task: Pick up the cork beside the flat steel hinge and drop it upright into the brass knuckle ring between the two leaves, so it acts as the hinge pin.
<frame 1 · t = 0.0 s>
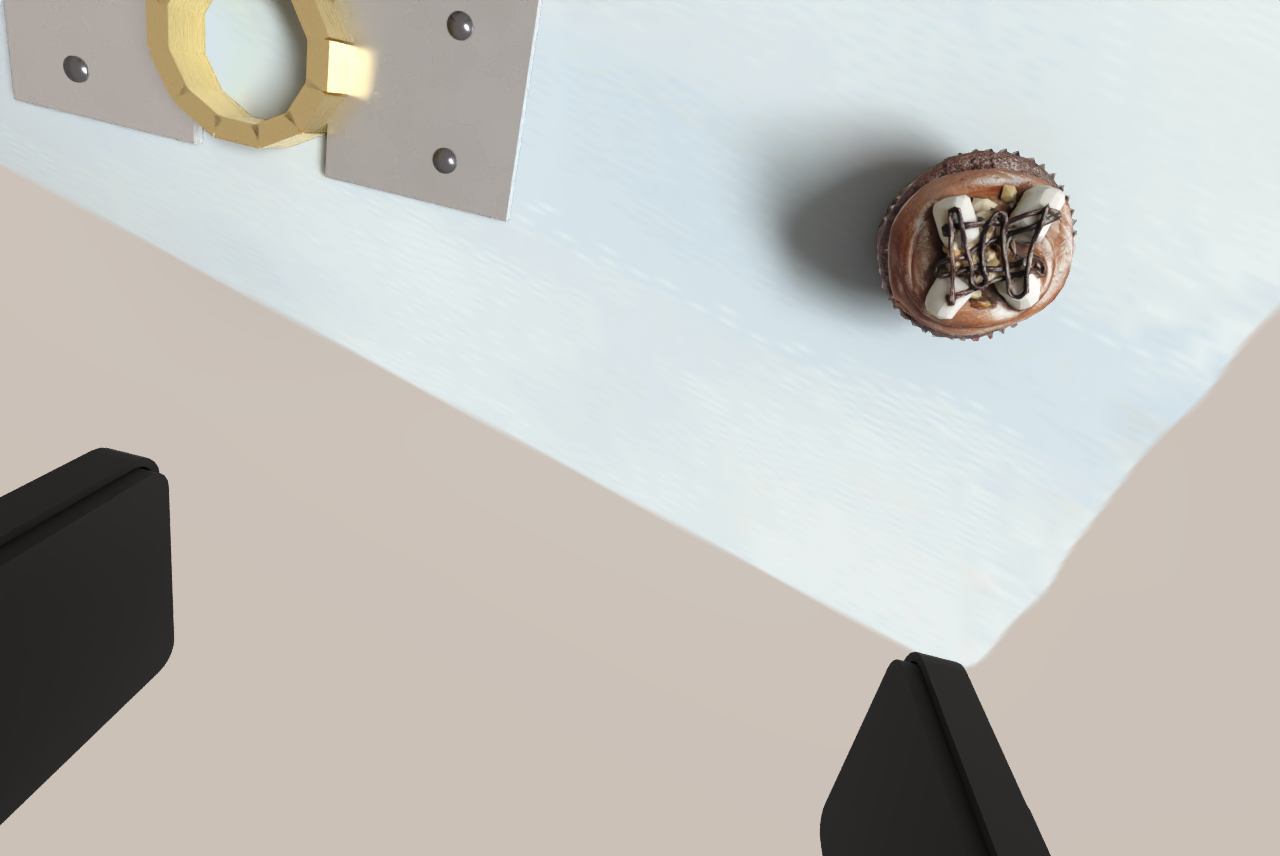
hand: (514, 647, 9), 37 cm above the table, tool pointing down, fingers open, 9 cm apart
hinge: (269, 49, 41), on the table
cupcake: (947, 236, 42), on the table
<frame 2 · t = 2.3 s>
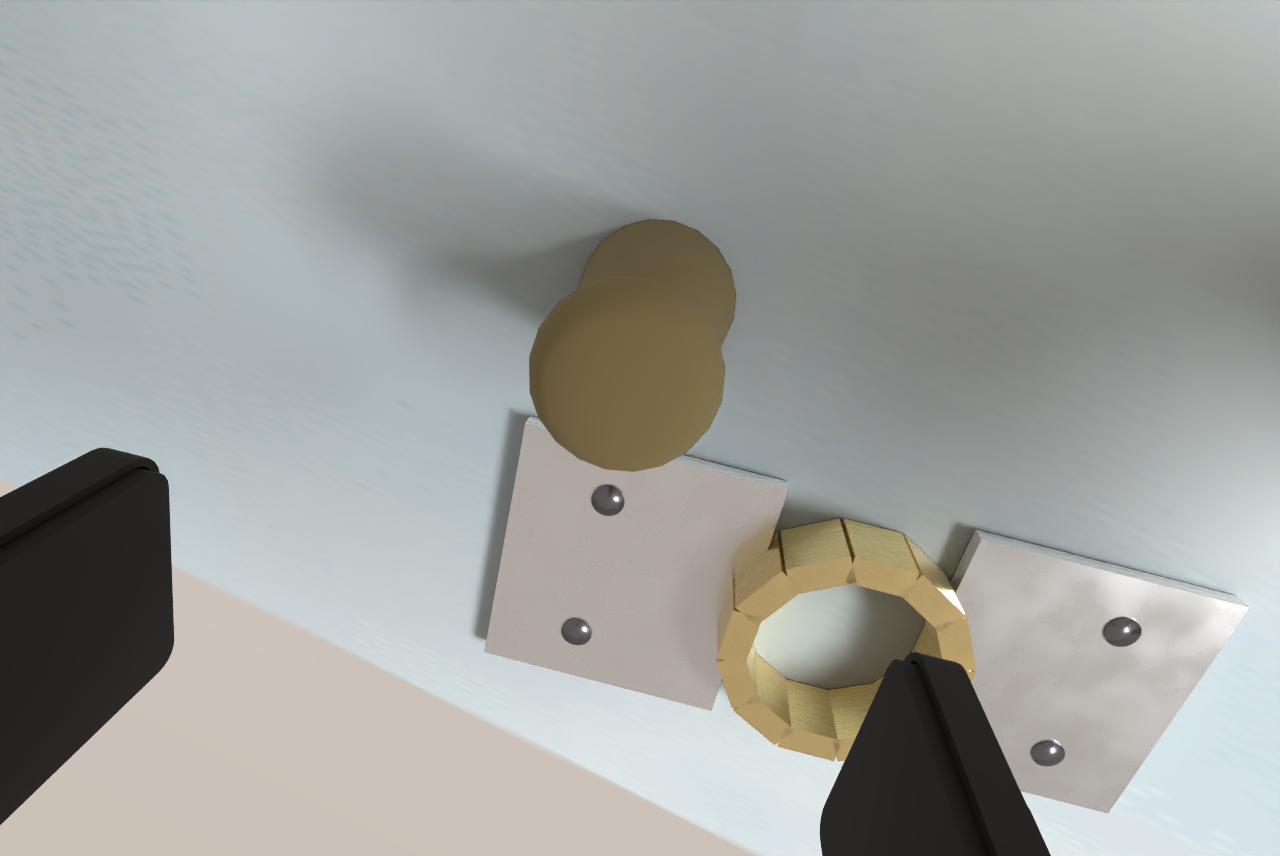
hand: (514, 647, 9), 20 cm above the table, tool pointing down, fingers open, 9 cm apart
hinge: (833, 620, 33), on the table
cork: (657, 299, 28), on the table
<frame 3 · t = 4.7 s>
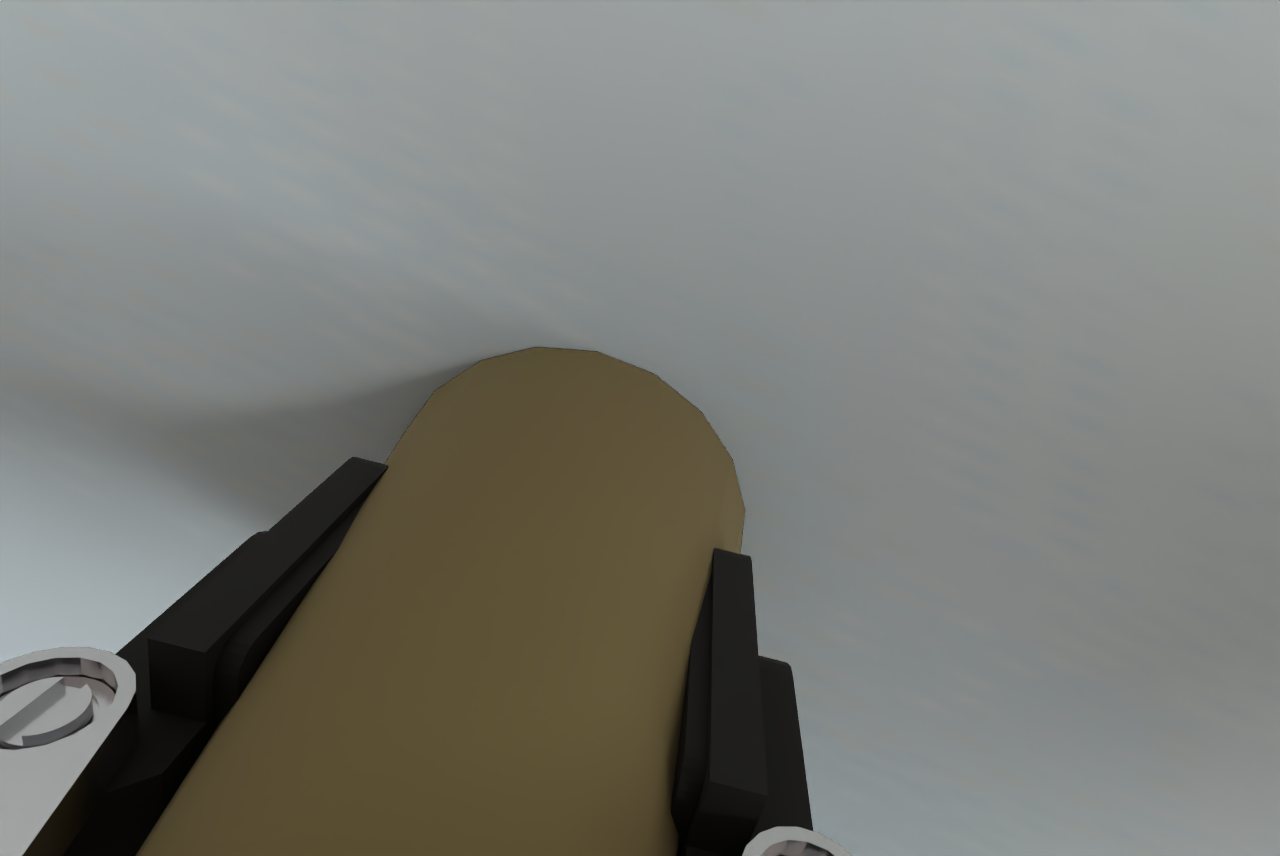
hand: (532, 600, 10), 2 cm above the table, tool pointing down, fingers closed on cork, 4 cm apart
cork: (567, 513, 13), on the table, touching gripper
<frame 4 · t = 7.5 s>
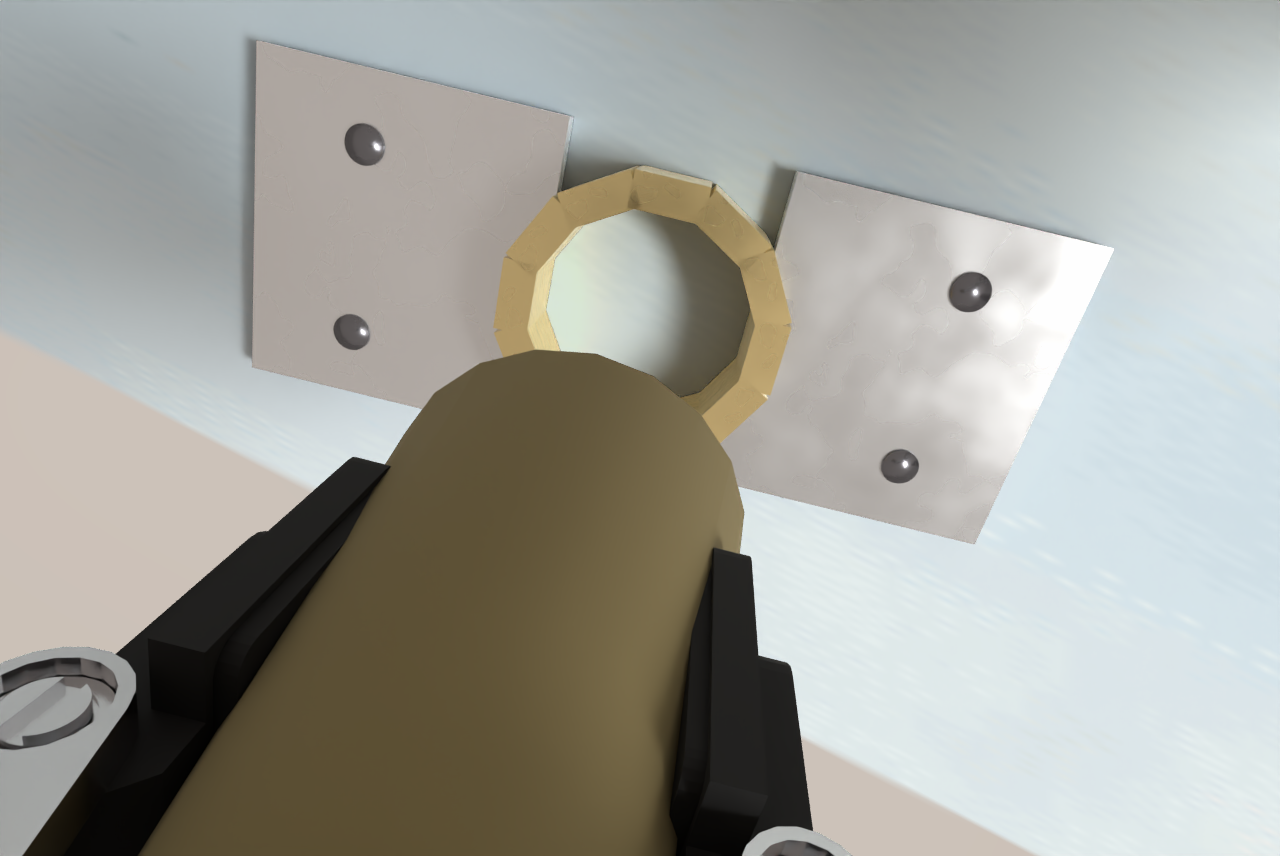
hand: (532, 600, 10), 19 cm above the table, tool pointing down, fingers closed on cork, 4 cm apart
hinge: (647, 308, 28), on the table
cork: (566, 515, 13), point 17 cm above the table, touching gripper
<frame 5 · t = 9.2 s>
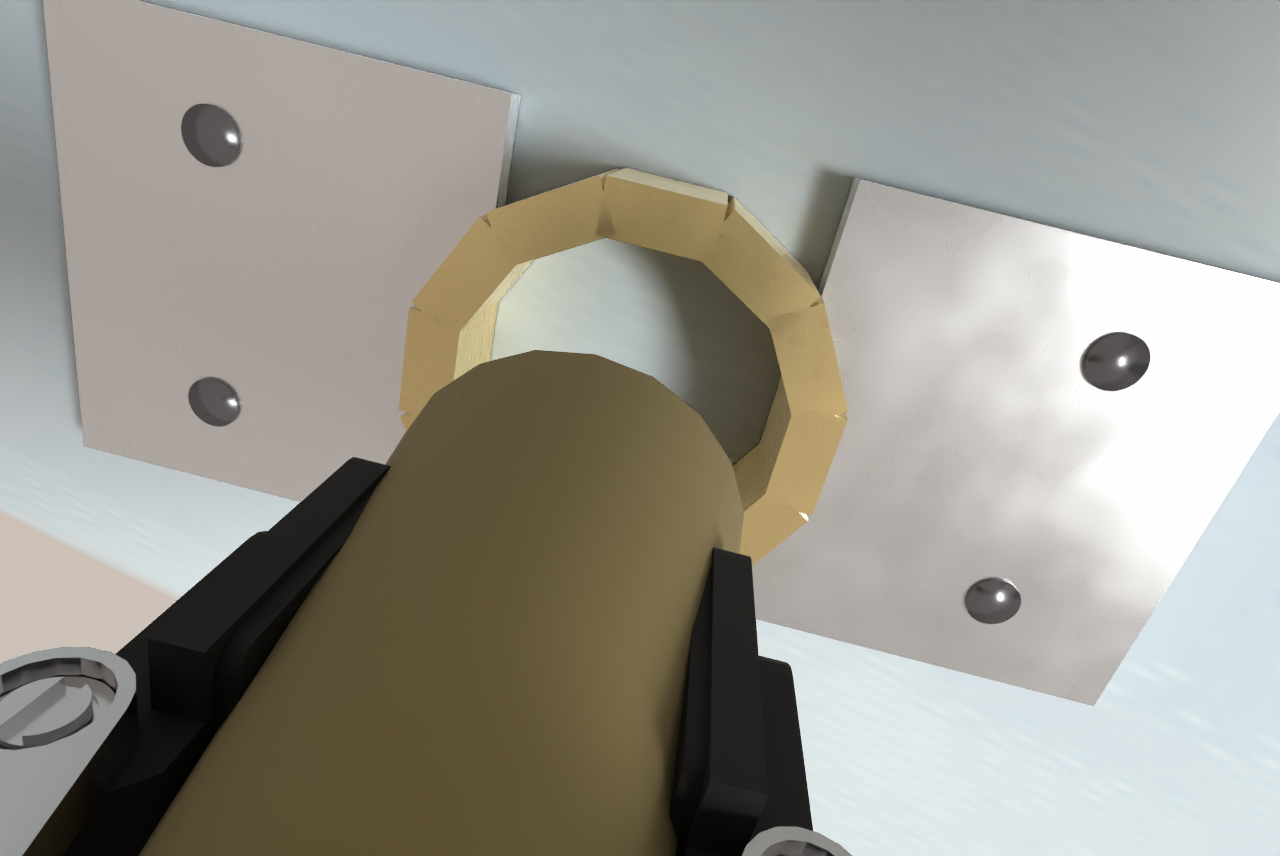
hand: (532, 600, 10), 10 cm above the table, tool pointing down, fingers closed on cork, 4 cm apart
hinge: (631, 373, 19), on the table
cork: (566, 516, 13), point 7 cm above the table, touching gripper
when the fingers open (4 cm above the table, at t = 10.7 s): cork drops 1 cm, resting in hinge.
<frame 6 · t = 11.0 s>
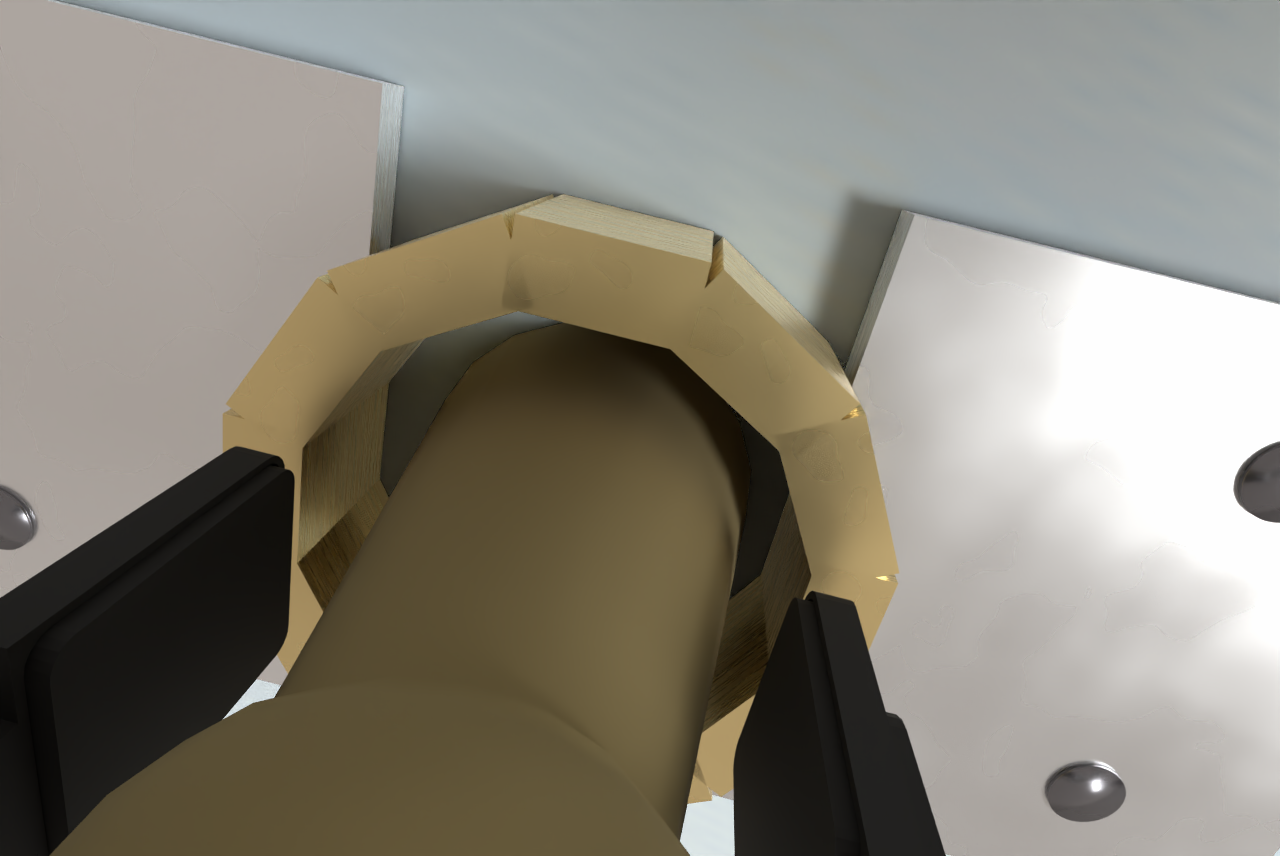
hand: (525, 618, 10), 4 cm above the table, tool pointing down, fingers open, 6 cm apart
hinge: (579, 481, 14), on the table
cork: (590, 474, 14), resting in hinge
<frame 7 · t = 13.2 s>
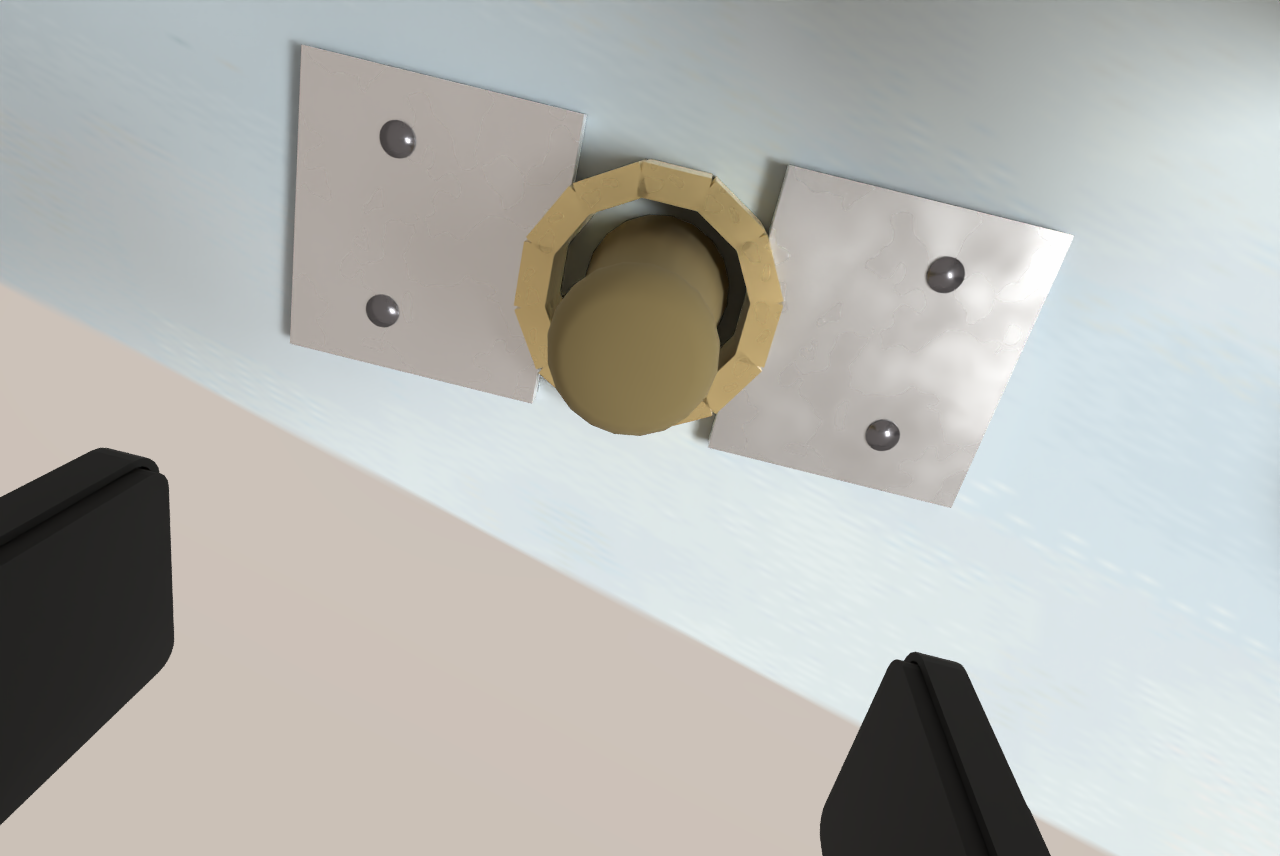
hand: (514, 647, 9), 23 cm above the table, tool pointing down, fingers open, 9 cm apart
hinge: (652, 289, 31), on the table
cork: (656, 288, 31), resting in hinge
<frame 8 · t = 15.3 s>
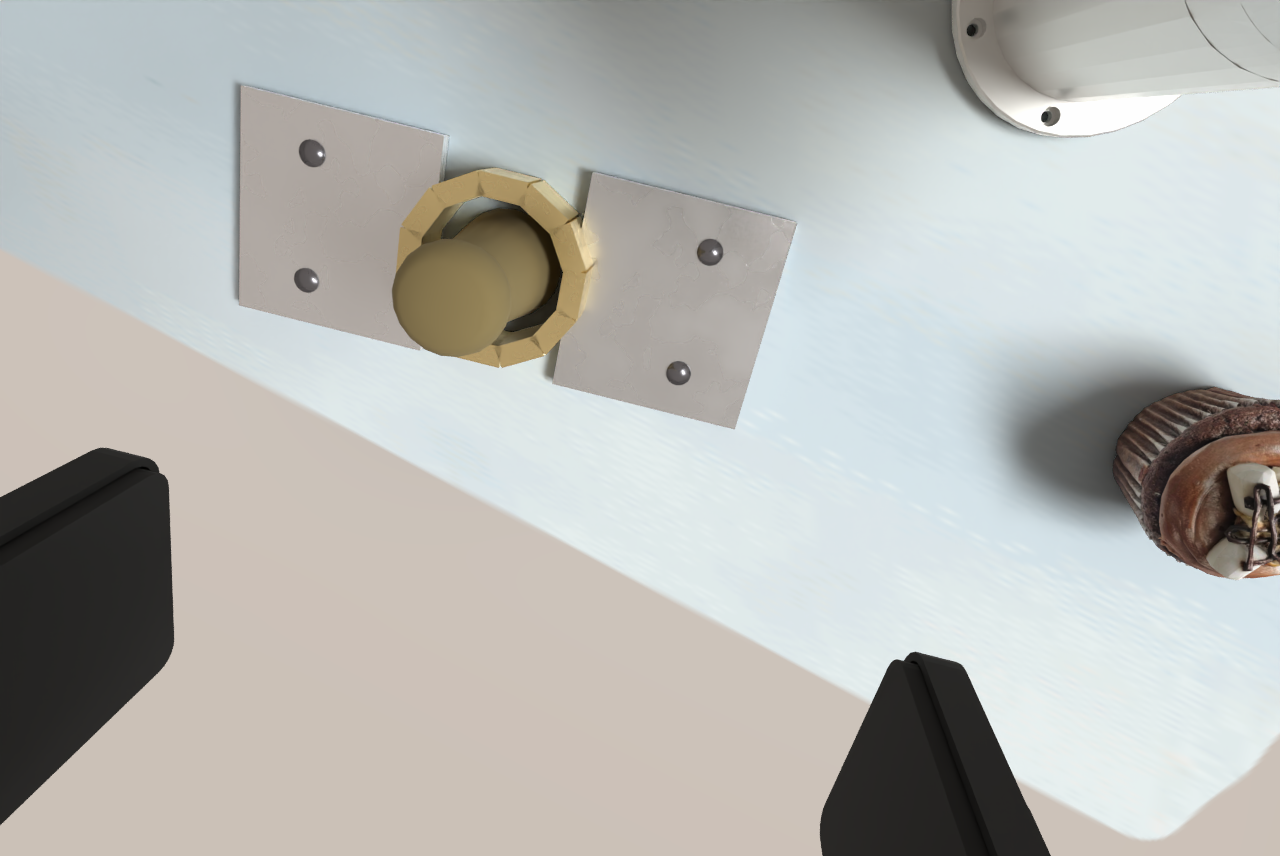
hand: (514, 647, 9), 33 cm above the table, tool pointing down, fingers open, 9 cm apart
hinge: (505, 264, 41), on the table
cork: (509, 263, 41), resting in hinge
cupcake: (1184, 450, 42), on the table
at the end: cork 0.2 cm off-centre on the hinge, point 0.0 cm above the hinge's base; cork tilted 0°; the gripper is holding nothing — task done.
